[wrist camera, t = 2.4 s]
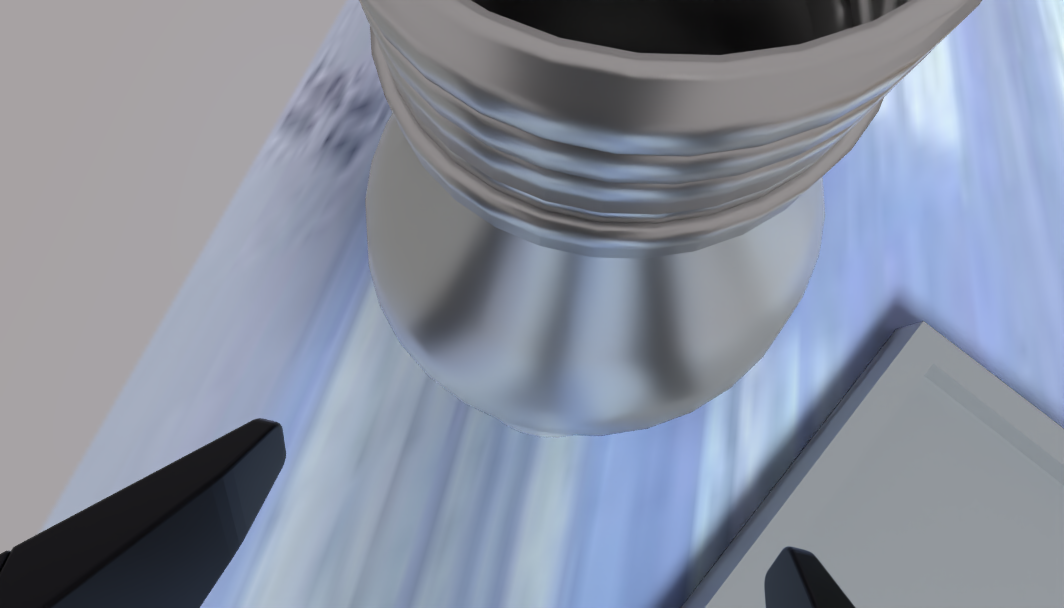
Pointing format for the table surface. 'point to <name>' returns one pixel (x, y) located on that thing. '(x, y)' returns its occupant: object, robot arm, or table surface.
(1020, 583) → the tray
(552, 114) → the plastic bottle
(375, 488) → the table surface
